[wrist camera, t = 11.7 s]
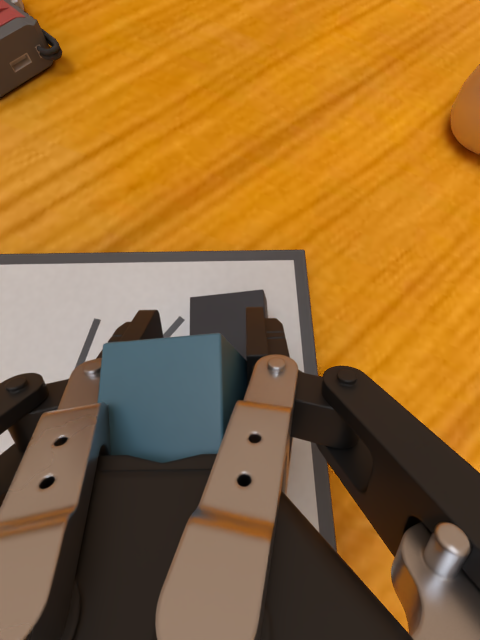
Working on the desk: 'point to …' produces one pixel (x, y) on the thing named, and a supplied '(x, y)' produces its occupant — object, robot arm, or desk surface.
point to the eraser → (179, 382)
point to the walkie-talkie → (22, 46)
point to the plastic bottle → (468, 113)
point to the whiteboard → (174, 308)
